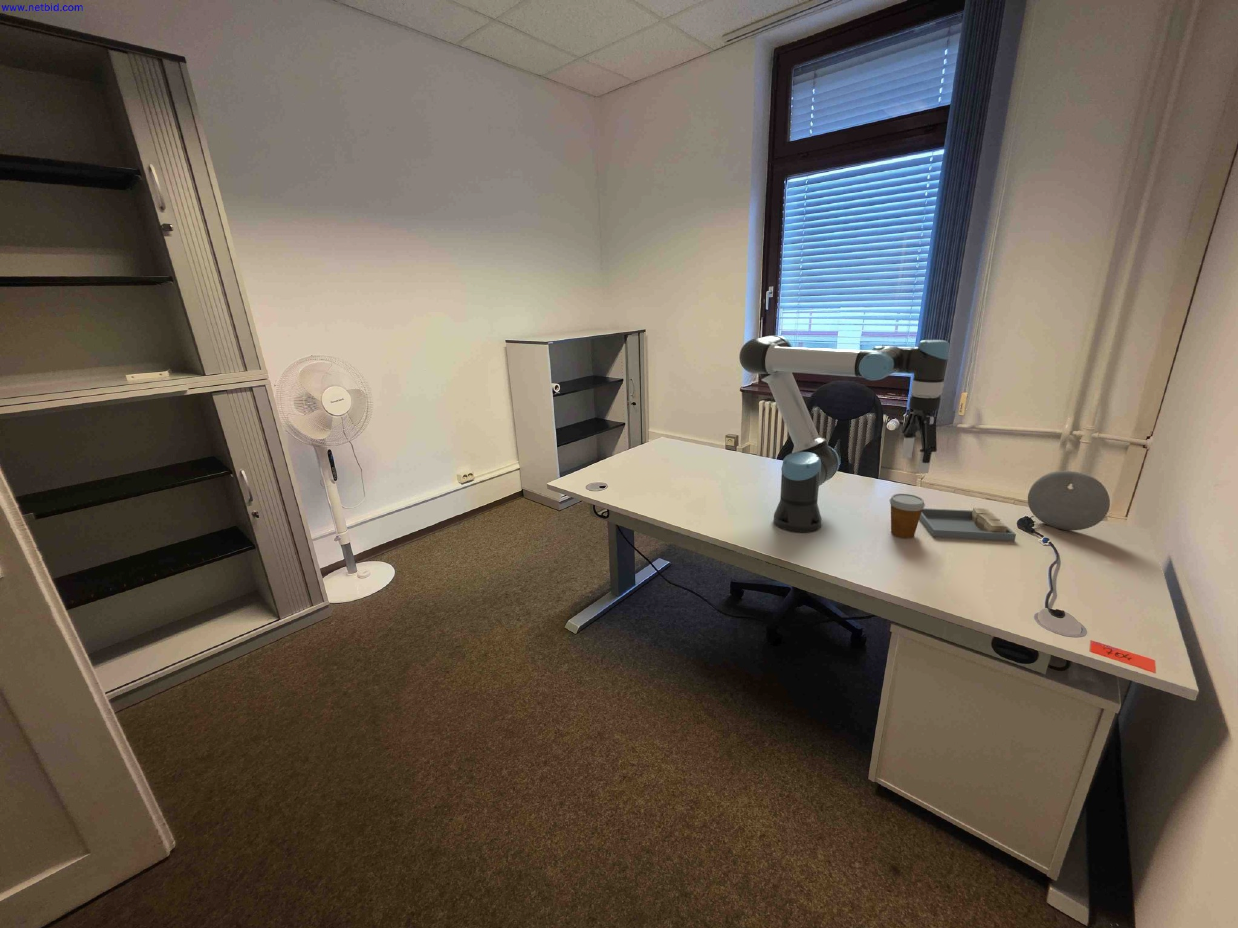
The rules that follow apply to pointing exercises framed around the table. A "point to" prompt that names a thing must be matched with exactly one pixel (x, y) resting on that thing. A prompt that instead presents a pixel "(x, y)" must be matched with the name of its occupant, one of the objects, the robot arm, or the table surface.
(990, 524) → the block
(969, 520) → the tray
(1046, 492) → the dark grey disc
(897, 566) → the table surface
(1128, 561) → the table surface
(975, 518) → the block
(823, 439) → the robot arm
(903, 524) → the disposable coffee cup
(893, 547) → the table surface
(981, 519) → the block
